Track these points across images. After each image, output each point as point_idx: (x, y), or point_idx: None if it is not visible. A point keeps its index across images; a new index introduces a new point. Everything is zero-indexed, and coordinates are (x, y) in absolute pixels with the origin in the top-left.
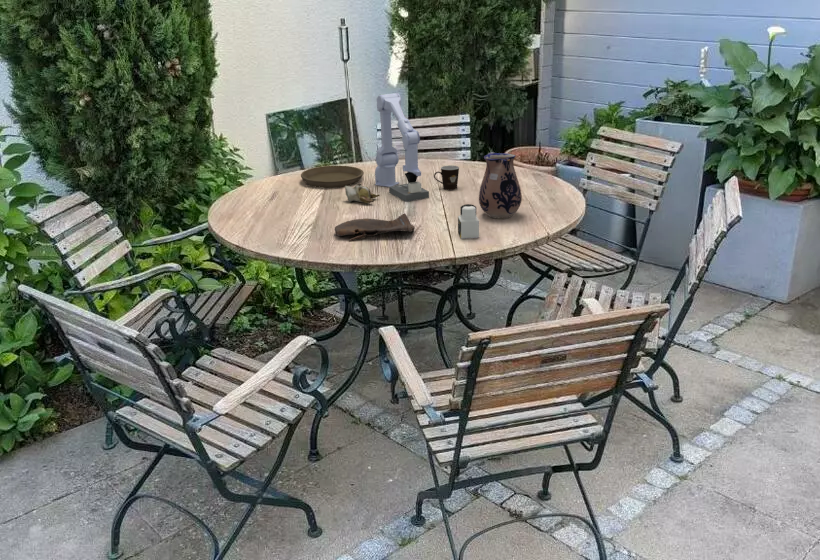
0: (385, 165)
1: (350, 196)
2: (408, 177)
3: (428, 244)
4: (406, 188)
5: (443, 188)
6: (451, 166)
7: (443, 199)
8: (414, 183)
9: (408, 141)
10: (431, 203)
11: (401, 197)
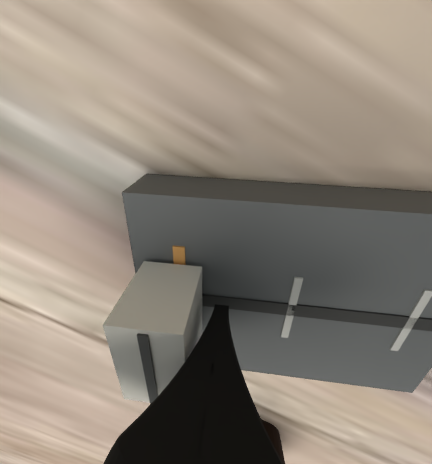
0: None
1: None
2: (162, 419)
3: None
4: (318, 306)
5: (262, 422)
6: None
7: (105, 347)
8: (130, 361)
9: None
10: (55, 280)
11: (213, 184)
